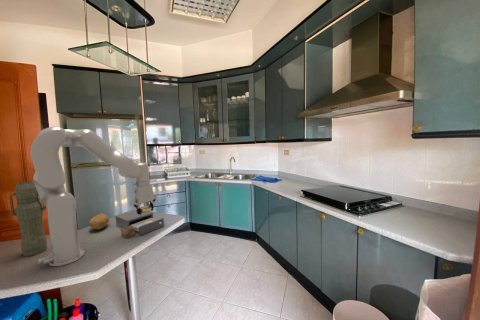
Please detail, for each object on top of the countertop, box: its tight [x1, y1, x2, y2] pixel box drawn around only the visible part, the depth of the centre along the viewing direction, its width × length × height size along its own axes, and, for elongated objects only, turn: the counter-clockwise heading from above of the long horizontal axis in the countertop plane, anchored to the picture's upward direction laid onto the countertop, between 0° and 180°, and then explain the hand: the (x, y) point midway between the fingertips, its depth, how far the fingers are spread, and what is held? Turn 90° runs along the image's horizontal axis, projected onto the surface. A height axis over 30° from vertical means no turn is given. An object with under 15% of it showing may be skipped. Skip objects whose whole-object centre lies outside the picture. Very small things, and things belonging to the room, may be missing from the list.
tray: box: [130, 217, 165, 236], centre depth 125 cm, size 15×16×5 cm
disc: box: [140, 205, 152, 213], centre depth 124 cm, size 7×7×2 cm
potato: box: [88, 213, 110, 231], centre depth 126 cm, size 10×14×8 cm
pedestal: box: [120, 226, 136, 239], centre depth 115 cm, size 5×5×4 cm
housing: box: [115, 209, 154, 229], centre depth 132 cm, size 16×16×6 cm
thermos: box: [8, 180, 48, 257], centre depth 100 cm, size 9×12×35 cm
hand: (145, 212), depth 124 cm, fingers closed on disc, 7 cm apart
